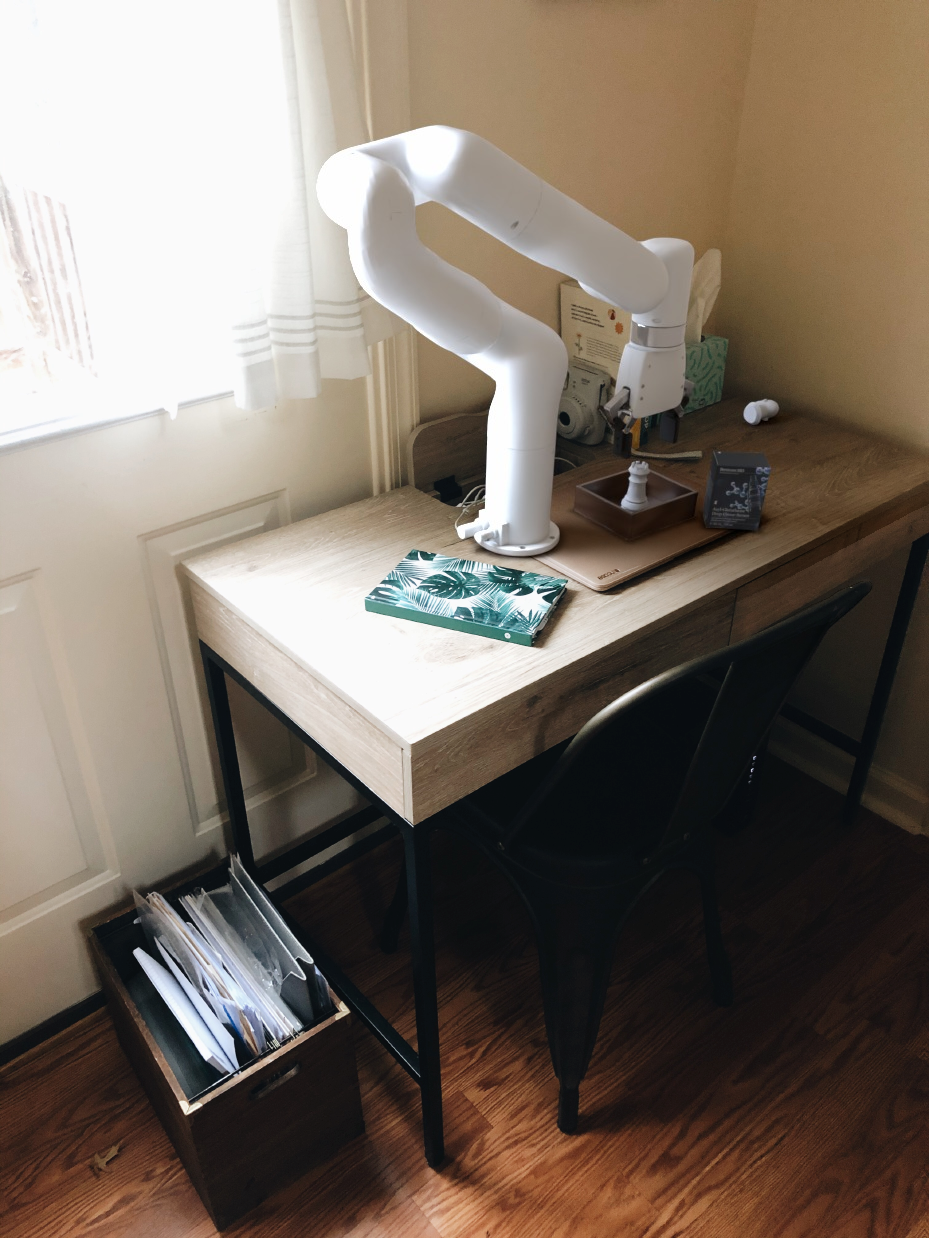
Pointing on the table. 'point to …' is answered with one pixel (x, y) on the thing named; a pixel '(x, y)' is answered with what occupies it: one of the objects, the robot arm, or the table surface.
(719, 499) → the box
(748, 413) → the smooth white sculpture
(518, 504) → the robot arm
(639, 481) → the rook chess piece
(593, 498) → the tray
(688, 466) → the table surface
